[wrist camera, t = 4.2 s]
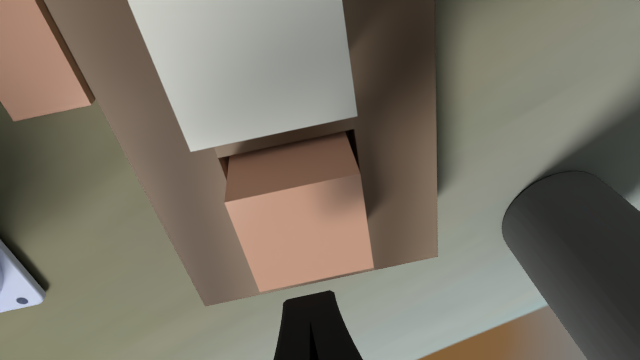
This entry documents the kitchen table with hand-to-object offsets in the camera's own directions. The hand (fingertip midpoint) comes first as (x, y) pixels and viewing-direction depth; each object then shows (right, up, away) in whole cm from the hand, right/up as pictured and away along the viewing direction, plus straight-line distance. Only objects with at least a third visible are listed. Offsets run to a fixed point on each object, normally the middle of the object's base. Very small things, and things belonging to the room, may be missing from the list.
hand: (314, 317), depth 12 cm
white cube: (-2, +9, +1) cm, 9 cm away
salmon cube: (-1, +4, +6) cm, 7 cm away
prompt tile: (-11, +9, +3) cm, 14 cm away
